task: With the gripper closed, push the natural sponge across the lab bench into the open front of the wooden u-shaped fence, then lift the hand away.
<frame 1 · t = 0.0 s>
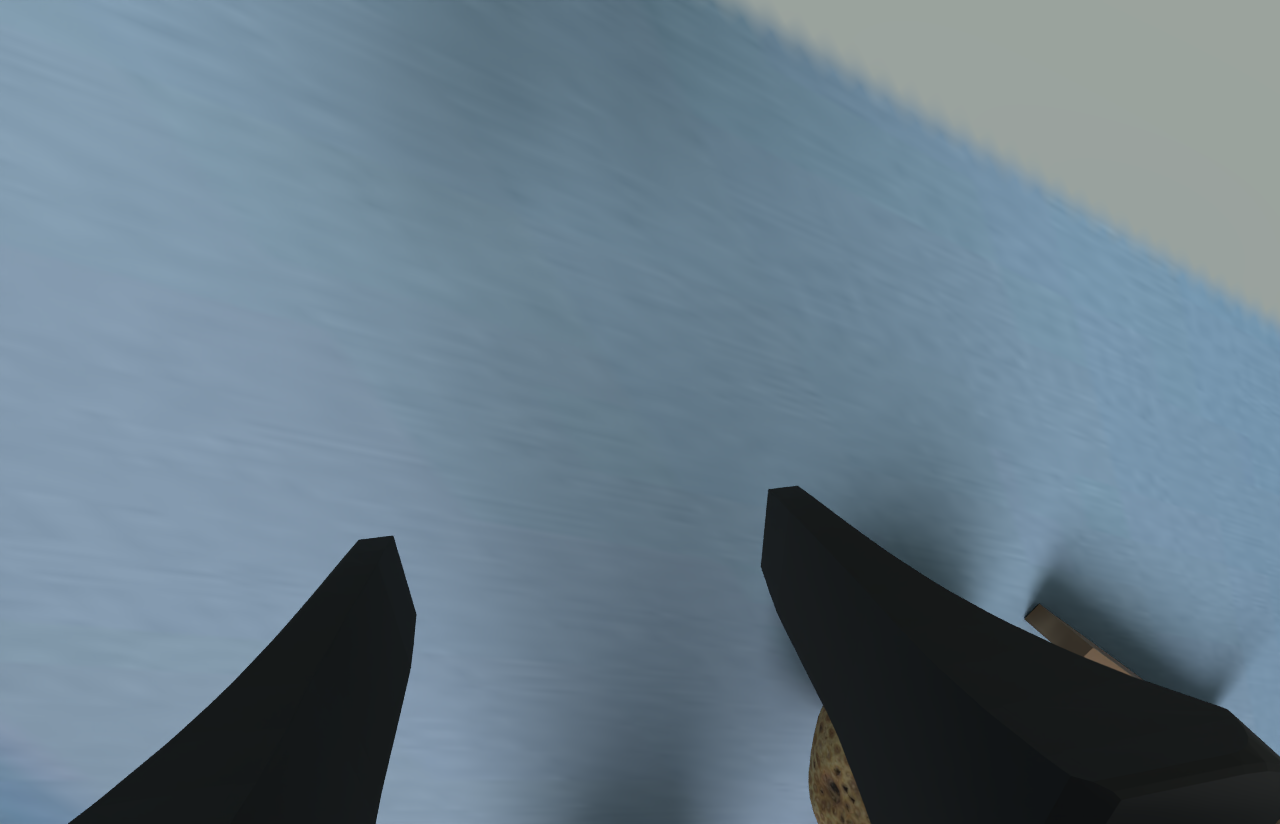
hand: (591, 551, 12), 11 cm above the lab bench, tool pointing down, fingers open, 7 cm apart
wooden u-shaped fence: (1014, 771, 32), on the lab bench
natural sponge: (854, 679, 29), on the lab bench
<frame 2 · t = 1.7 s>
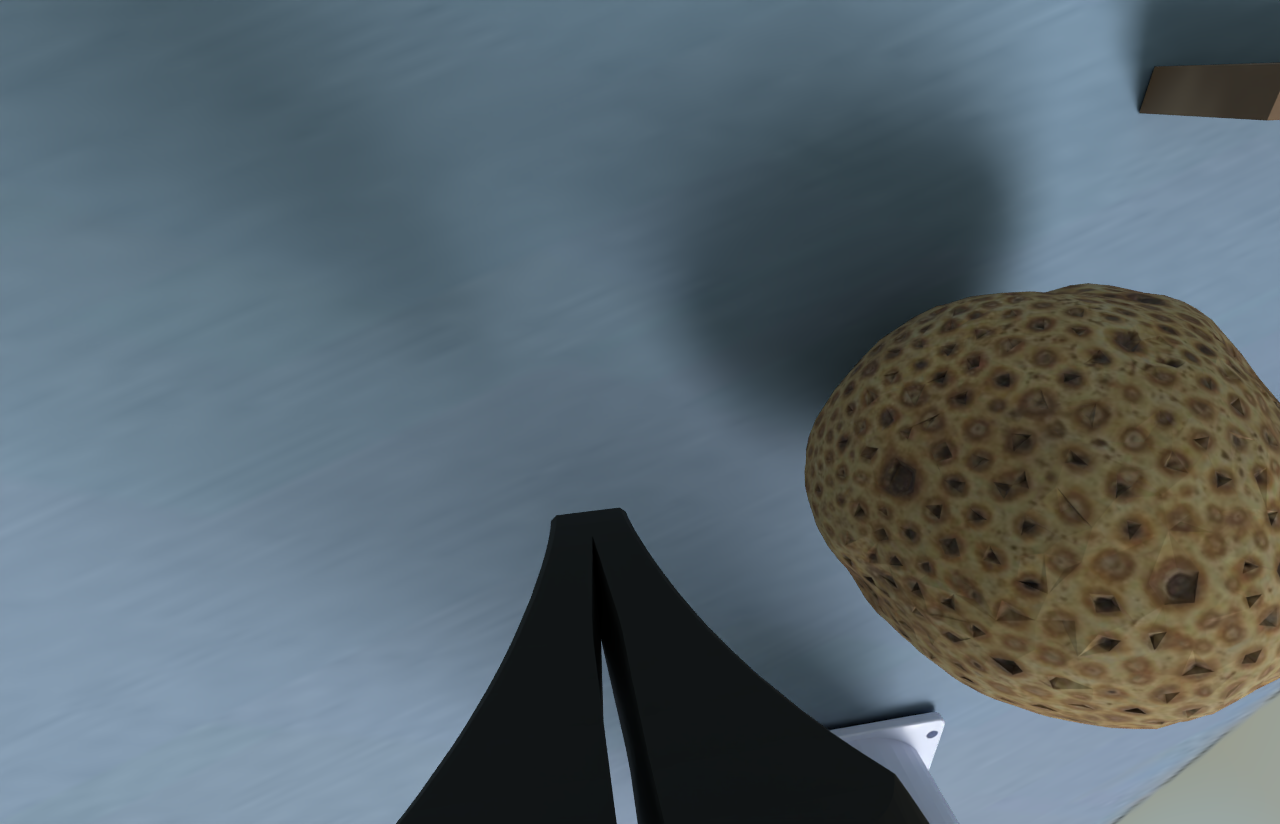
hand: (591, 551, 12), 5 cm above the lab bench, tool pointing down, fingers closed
wooden u-shaped fence: (1264, 348, 19), on the lab bench
natural sponge: (895, 382, 18), on the lab bench
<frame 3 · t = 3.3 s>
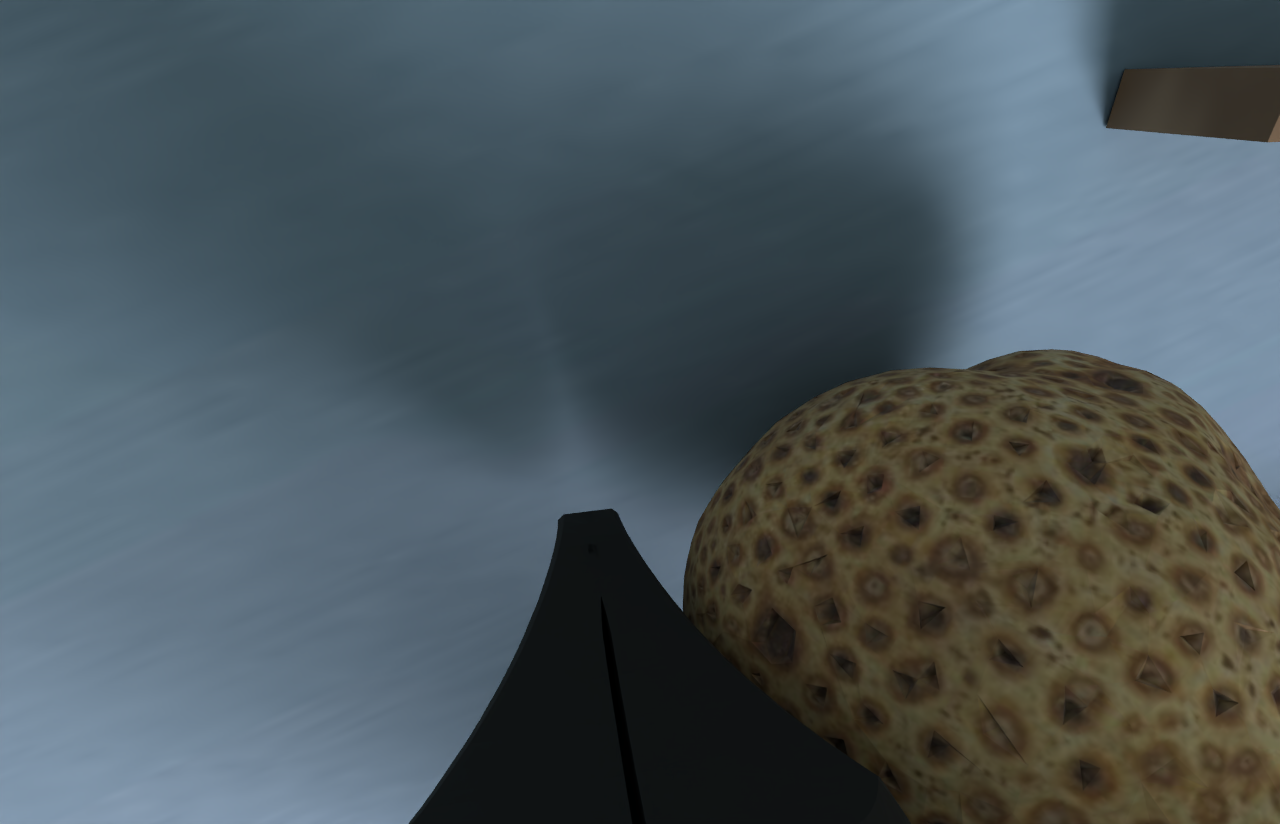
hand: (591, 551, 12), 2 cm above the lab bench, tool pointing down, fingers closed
wooden u-shaped fence: (1261, 404, 16), on the lab bench
natural sponge: (824, 448, 15), on the lab bench, touching gripper
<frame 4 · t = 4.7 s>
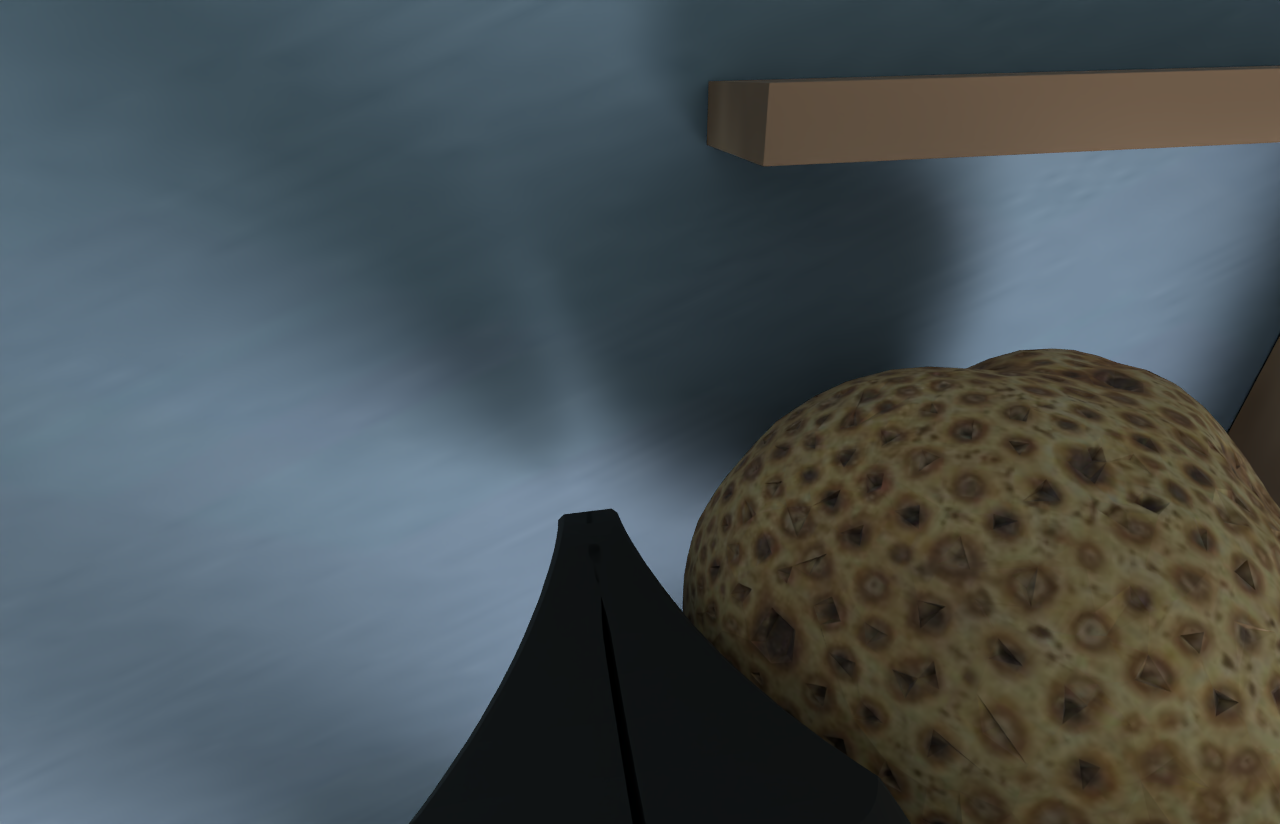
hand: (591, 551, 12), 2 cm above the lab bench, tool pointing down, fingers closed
wooden u-shaped fence: (987, 435, 15), on the lab bench
natural sponge: (824, 447, 15), on the lab bench, touching gripper
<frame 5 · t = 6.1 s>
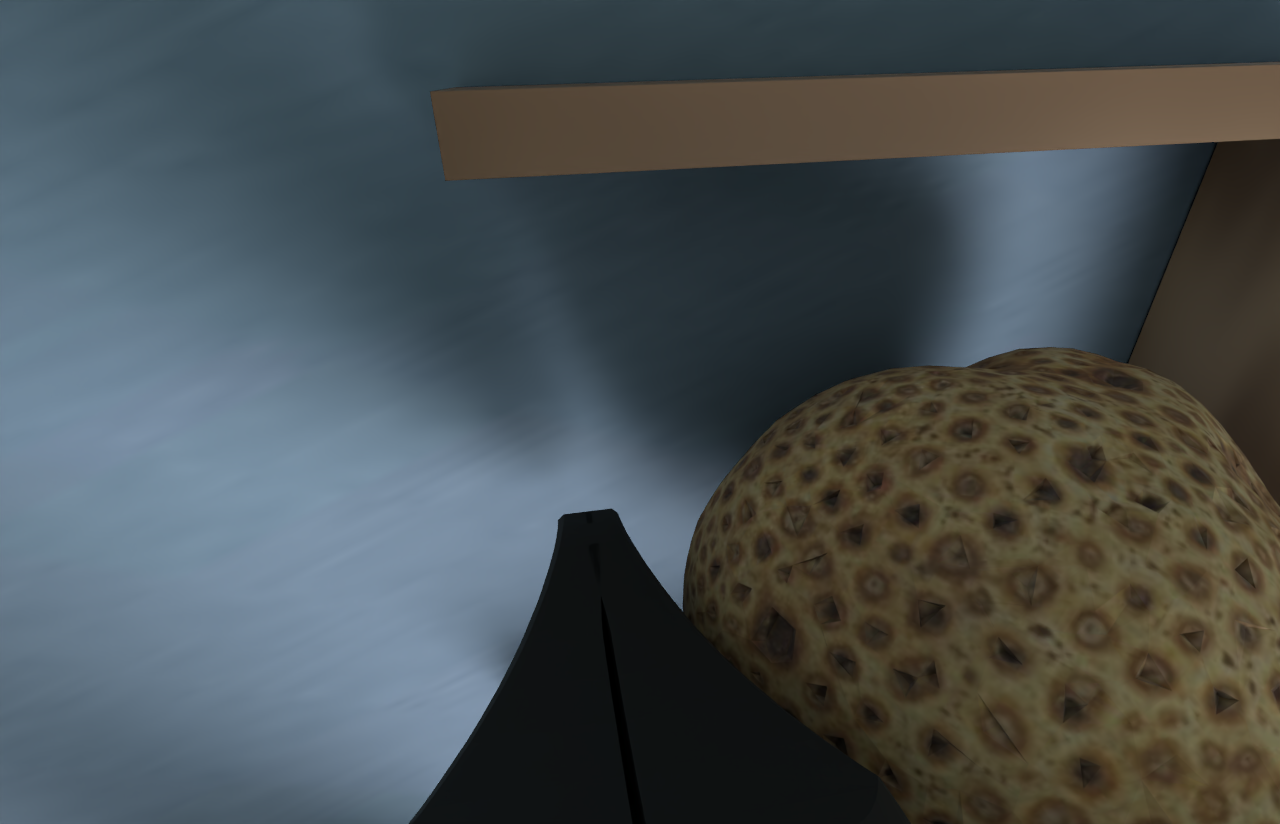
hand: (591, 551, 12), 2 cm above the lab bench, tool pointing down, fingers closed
wooden u-shaped fence: (830, 451, 15), on the lab bench
natural sponge: (824, 447, 15), on the lab bench, touching gripper
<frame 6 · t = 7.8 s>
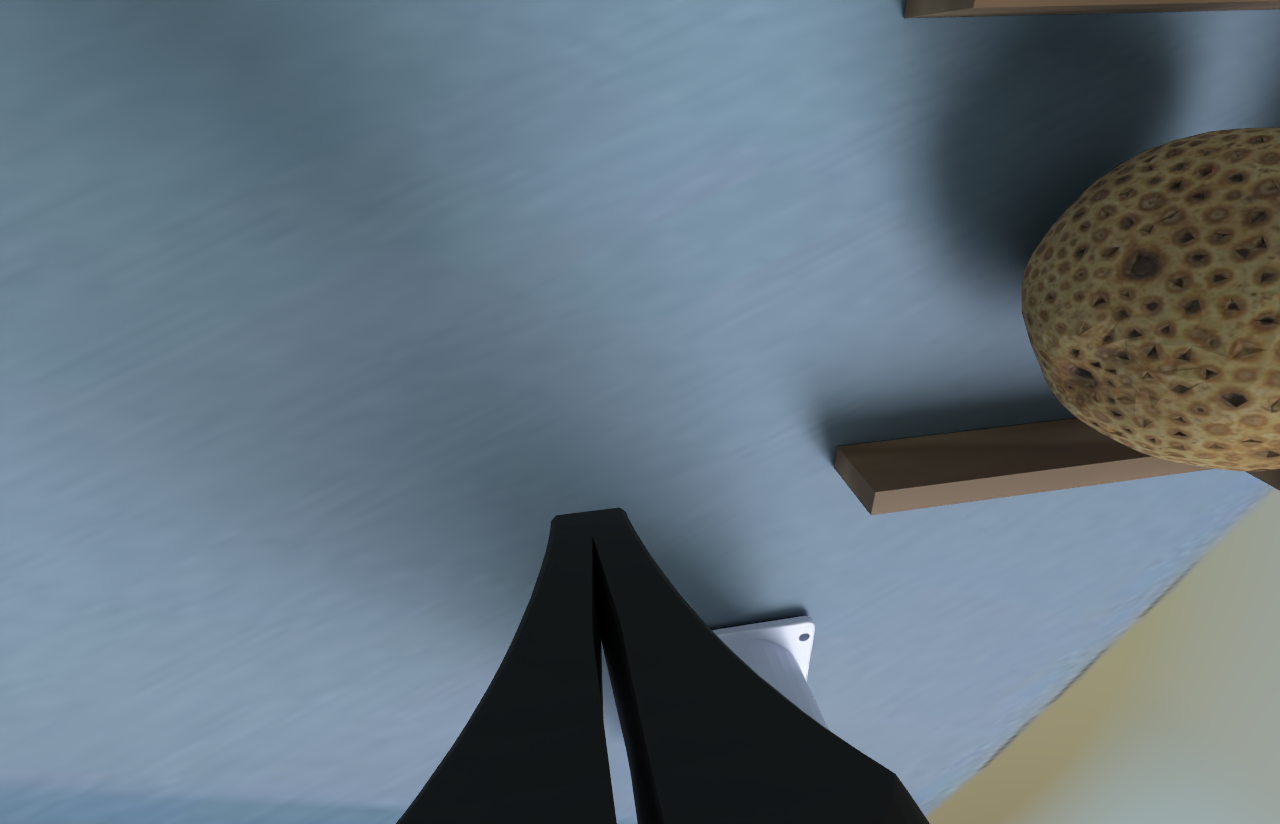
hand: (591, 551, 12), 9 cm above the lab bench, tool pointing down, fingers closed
wooden u-shaped fence: (1067, 252, 21), on the lab bench
natural sponge: (1060, 251, 21), on the lab bench
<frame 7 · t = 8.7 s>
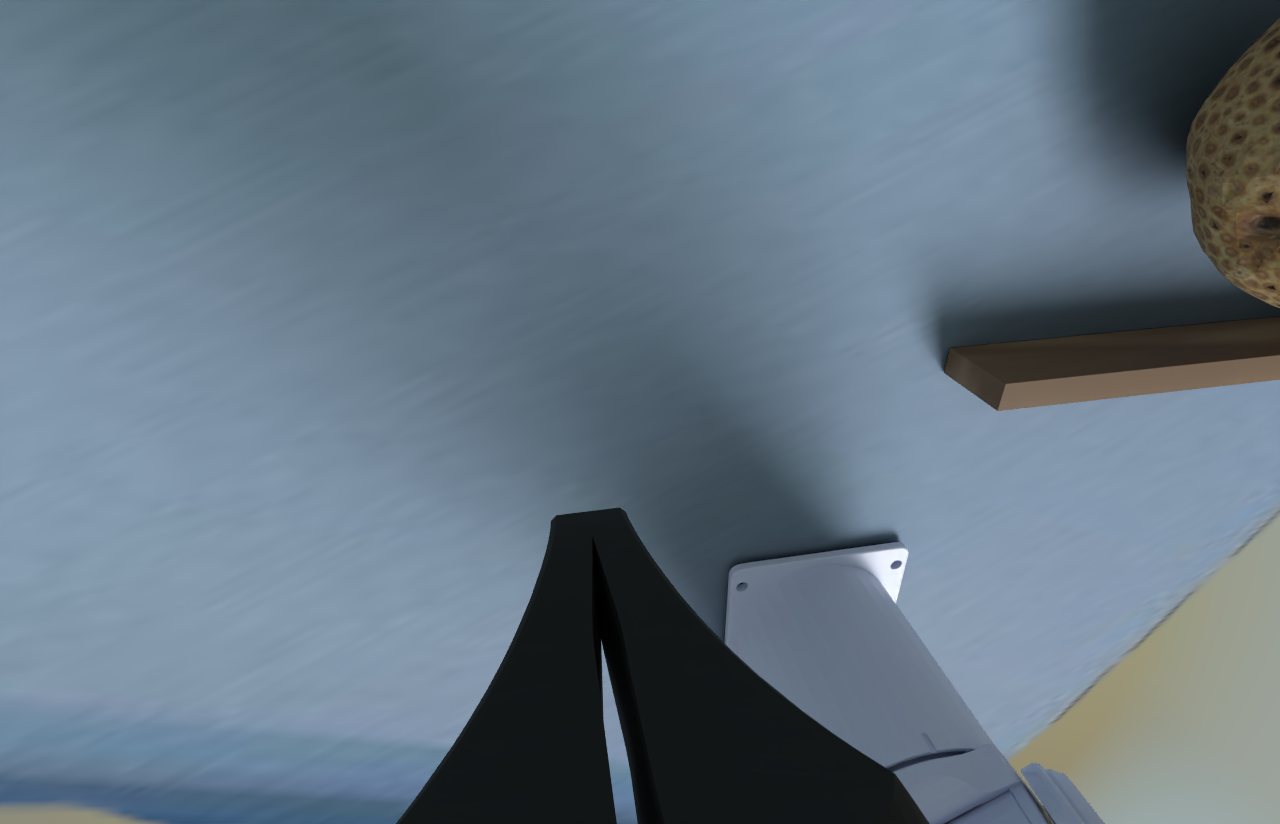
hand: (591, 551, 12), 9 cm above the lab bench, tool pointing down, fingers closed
wooden u-shaped fence: (1210, 129, 20), on the lab bench
natural sponge: (1201, 128, 20), on the lab bench
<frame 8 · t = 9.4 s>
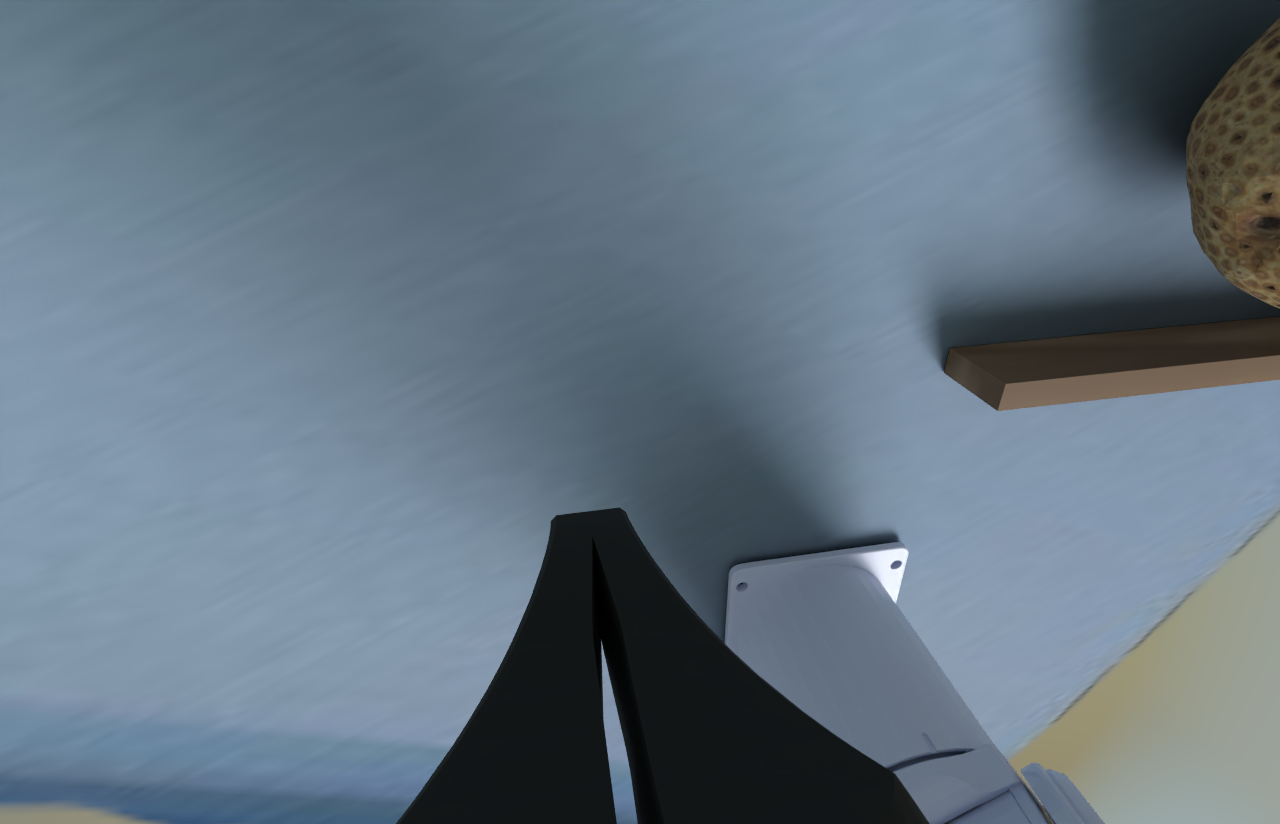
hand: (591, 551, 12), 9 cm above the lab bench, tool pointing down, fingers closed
wooden u-shaped fence: (1210, 129, 20), on the lab bench
natural sponge: (1202, 128, 20), on the lab bench
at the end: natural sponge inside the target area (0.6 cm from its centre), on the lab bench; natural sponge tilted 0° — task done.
